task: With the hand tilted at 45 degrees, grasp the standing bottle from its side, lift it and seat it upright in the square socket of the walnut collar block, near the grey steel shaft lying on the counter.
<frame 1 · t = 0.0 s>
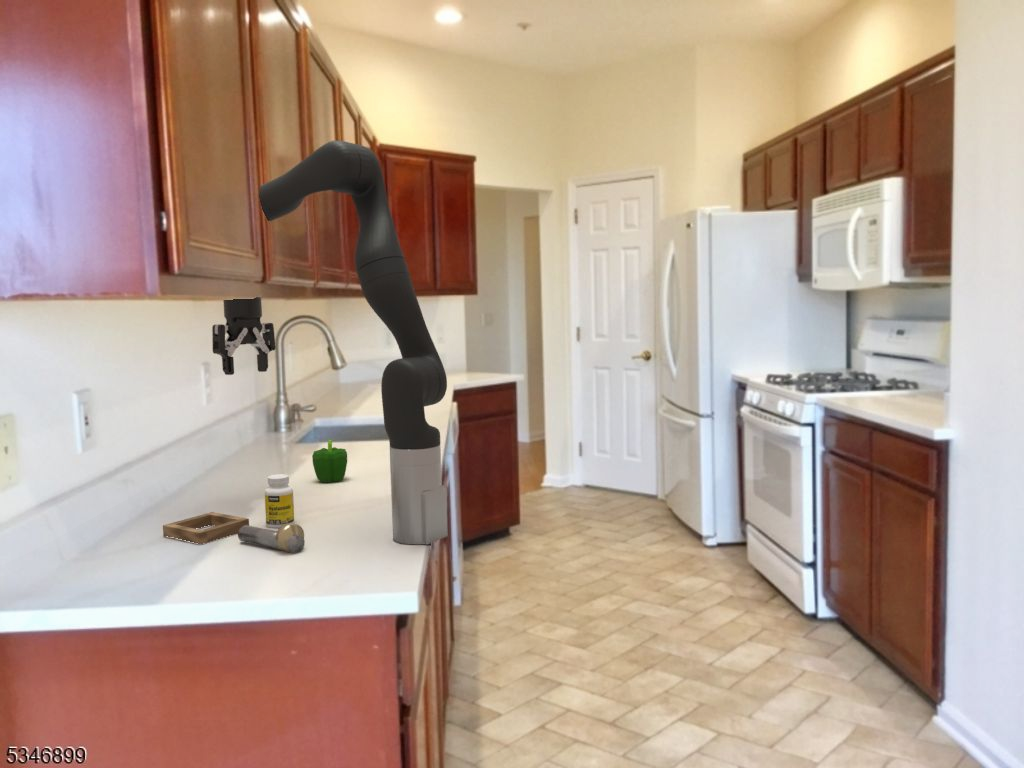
hand: (246, 373, 165), 29 cm above the worktop, tool pointing down, fingers open, 8 cm apart
supplement bottle: (280, 525, 155), on the worktop
shaft: (271, 546, 141), on the worktop
bell pepper: (331, 481, 194), on the worktop
collar block: (206, 533, 150), on the worktop
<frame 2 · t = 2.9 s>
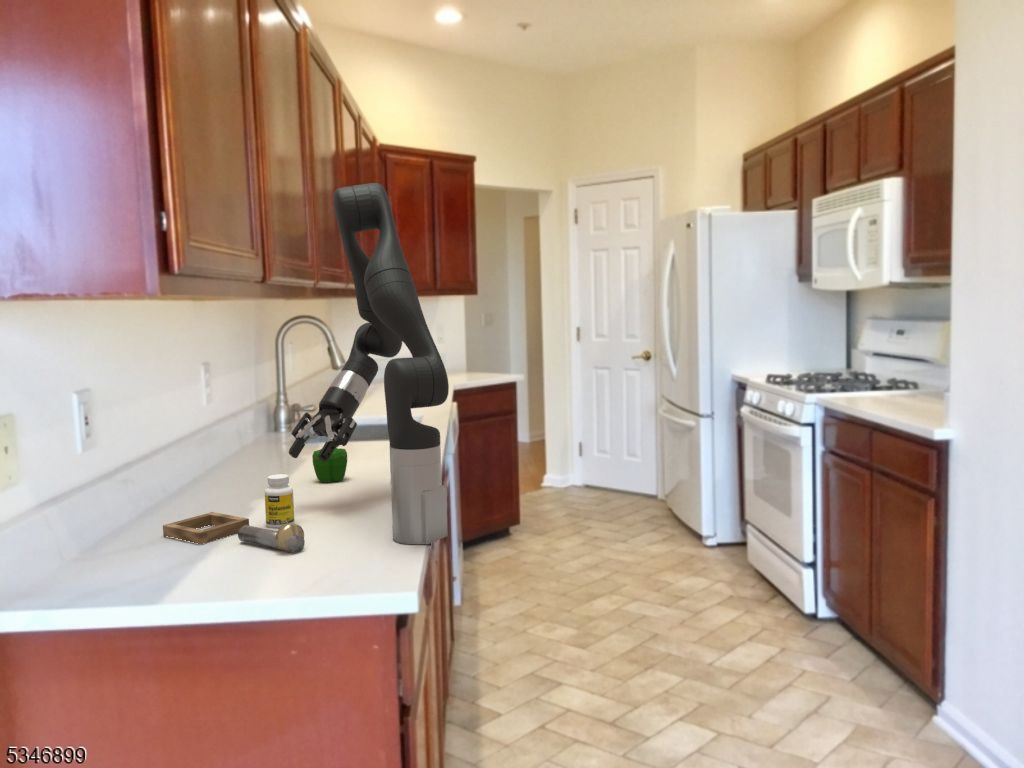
hand: (306, 457, 160), 12 cm above the worktop, tool tilted 45°, fingers open, 8 cm apart
nothing on the worktop moved.
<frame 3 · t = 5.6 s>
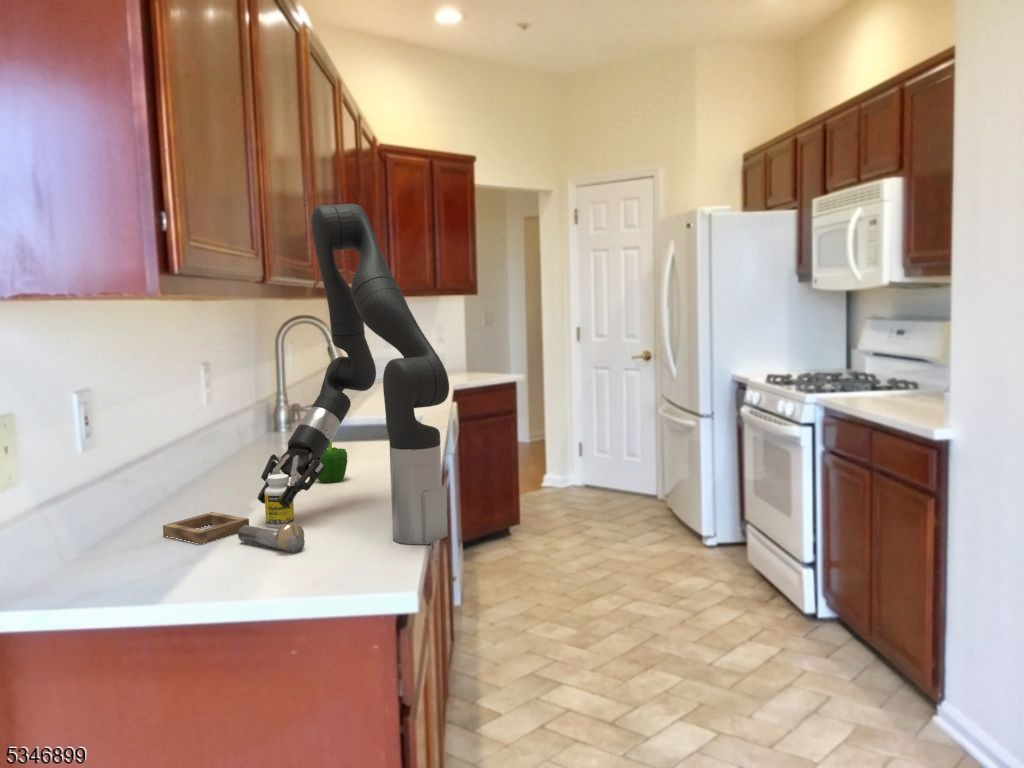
hand: (272, 503, 153), 5 cm above the worktop, tool tilted 45°, fingers closed on supplement bottle, 5 cm apart
supplement bottle: (280, 525, 155), on the worktop, touching gripper
everything else where it was.
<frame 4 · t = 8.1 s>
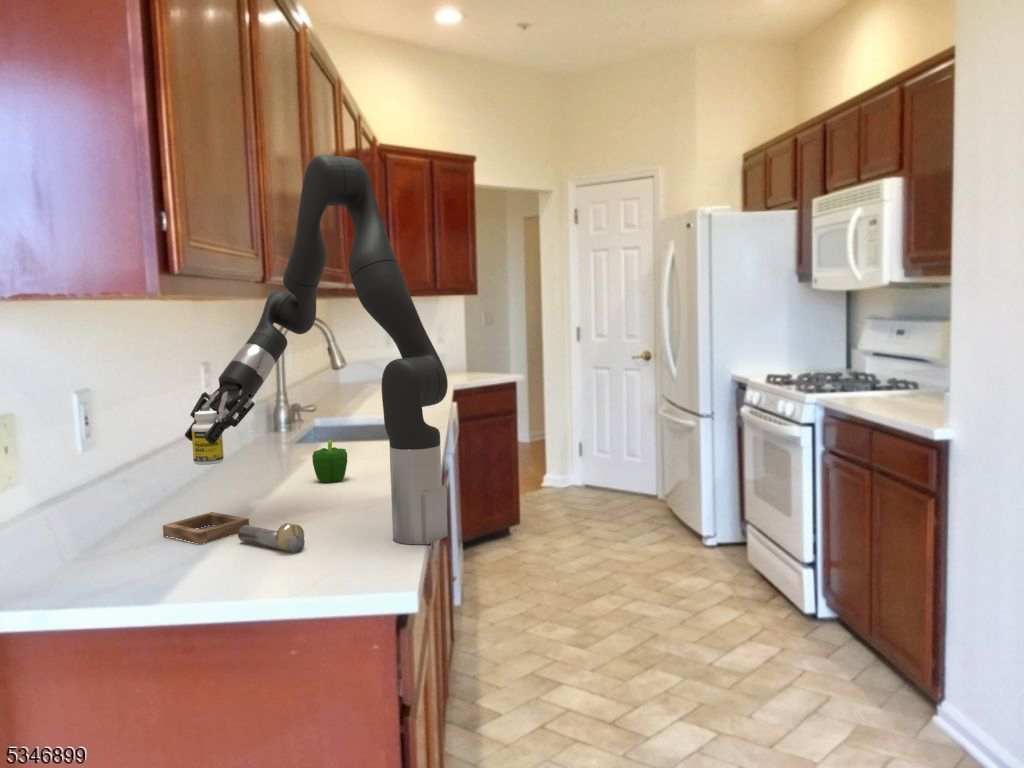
hand: (198, 439, 148), 18 cm above the worktop, tool tilted 45°, fingers closed on supplement bottle, 5 cm apart
supplement bottle: (209, 463, 150), point 13 cm above the worktop, touching gripper
everything else where it was.
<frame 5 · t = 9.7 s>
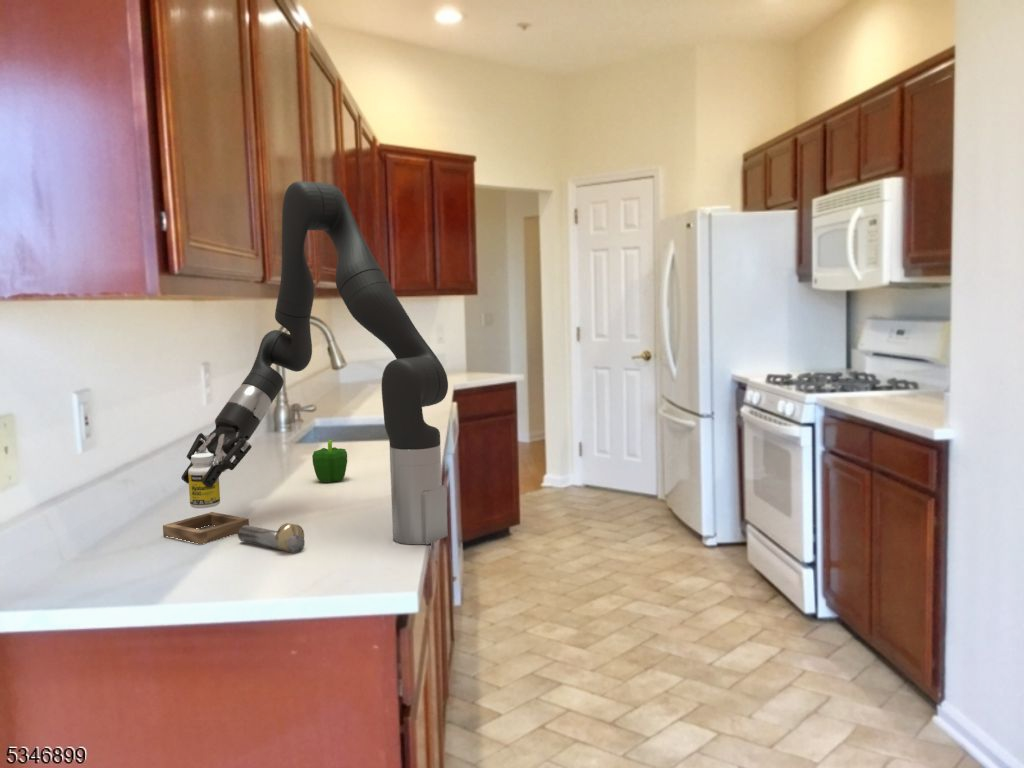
hand: (195, 483, 148), 10 cm above the worktop, tool tilted 45°, fingers closed on supplement bottle, 5 cm apart
supplement bottle: (205, 506, 150), point 5 cm above the worktop, touching gripper
everything else where it was.
when the fingers open (6 cm above the worktop, at t = 10.9 s): supplement bottle drops 2 cm, resting in collar block.
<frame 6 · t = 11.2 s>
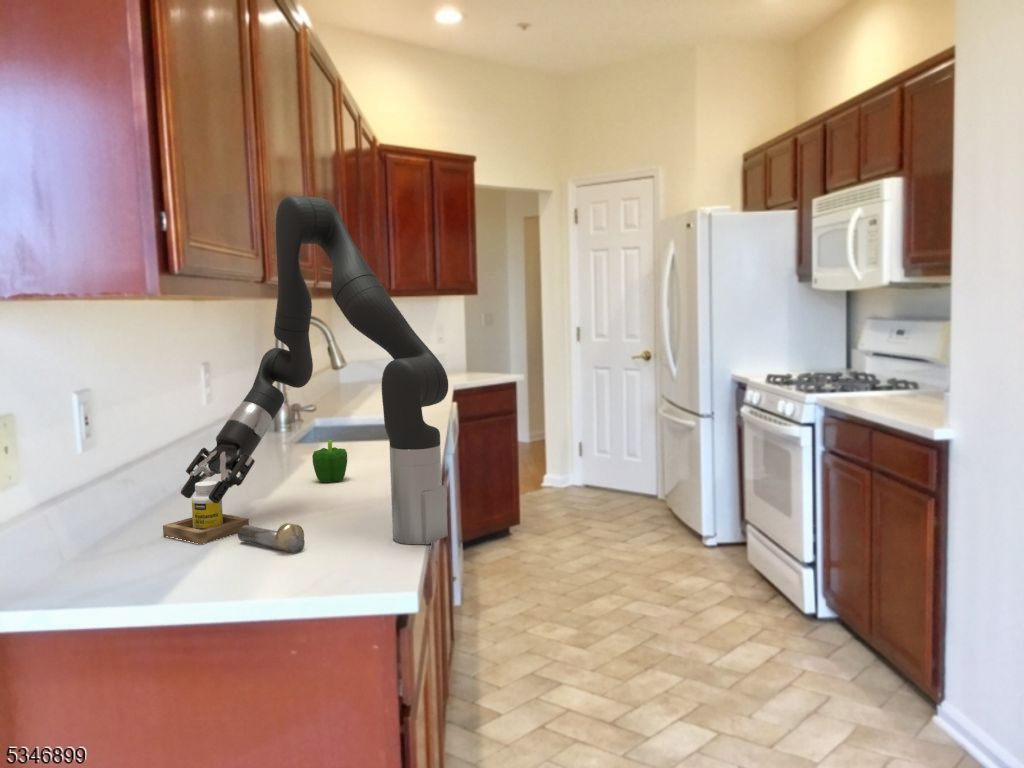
hand: (198, 498, 148), 7 cm above the worktop, tool tilted 45°, fingers open, 8 cm apart
supplement bottle: (208, 534, 150), resting in collar block
everything else where it was.
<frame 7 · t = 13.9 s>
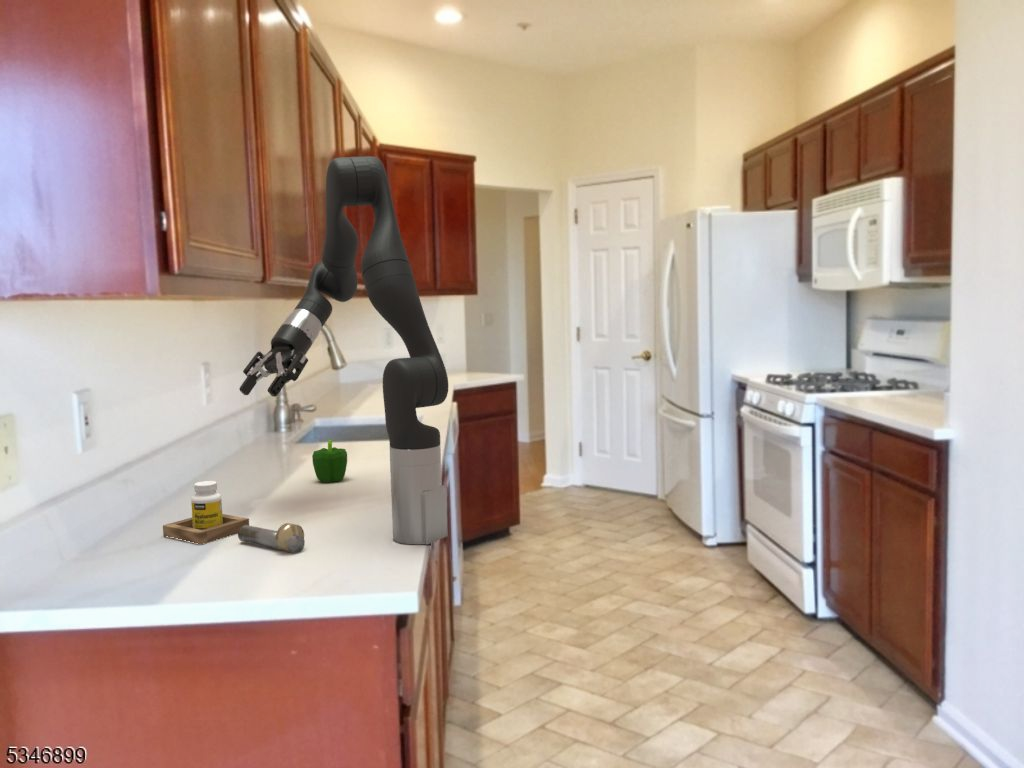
hand: (257, 393, 159), 26 cm above the worktop, tool tilted 45°, fingers open, 8 cm apart
nothing on the worktop moved.
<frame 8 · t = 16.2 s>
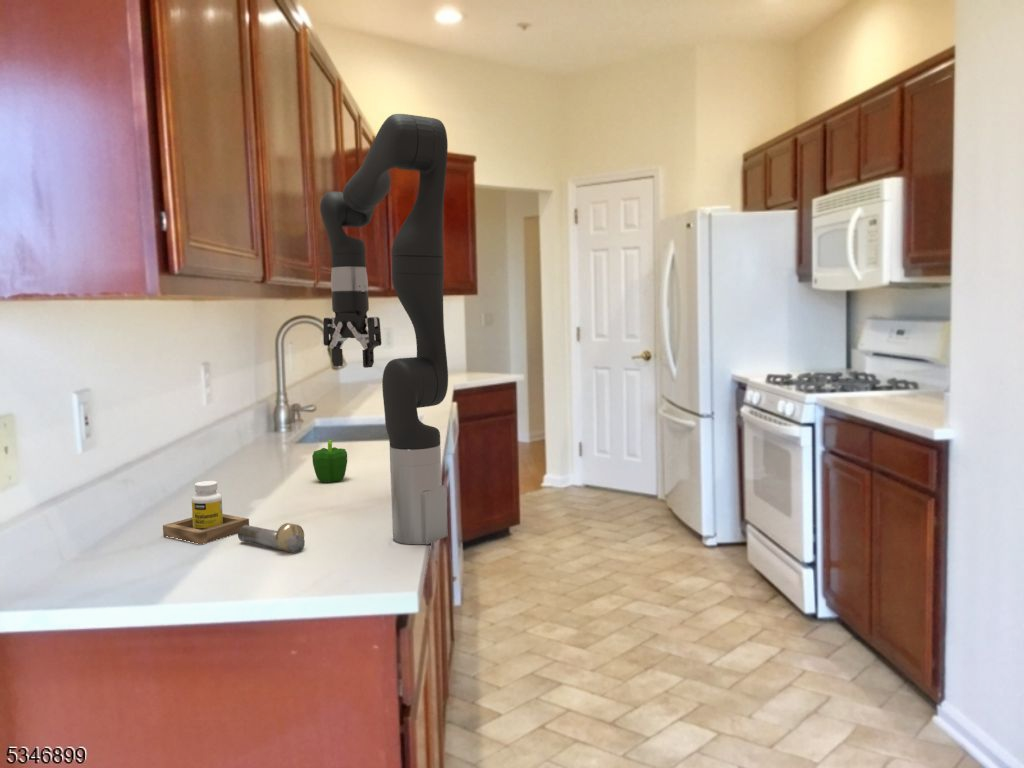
hand: (352, 366, 165), 30 cm above the worktop, tool pointing down, fingers open, 8 cm apart
nothing on the worktop moved.
at the end: supplement bottle inside the target area on the collar block (0.2 cm from its centre), point 0.0 cm above the collar block's base; supplement bottle tilted 0°; the gripper is holding nothing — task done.
